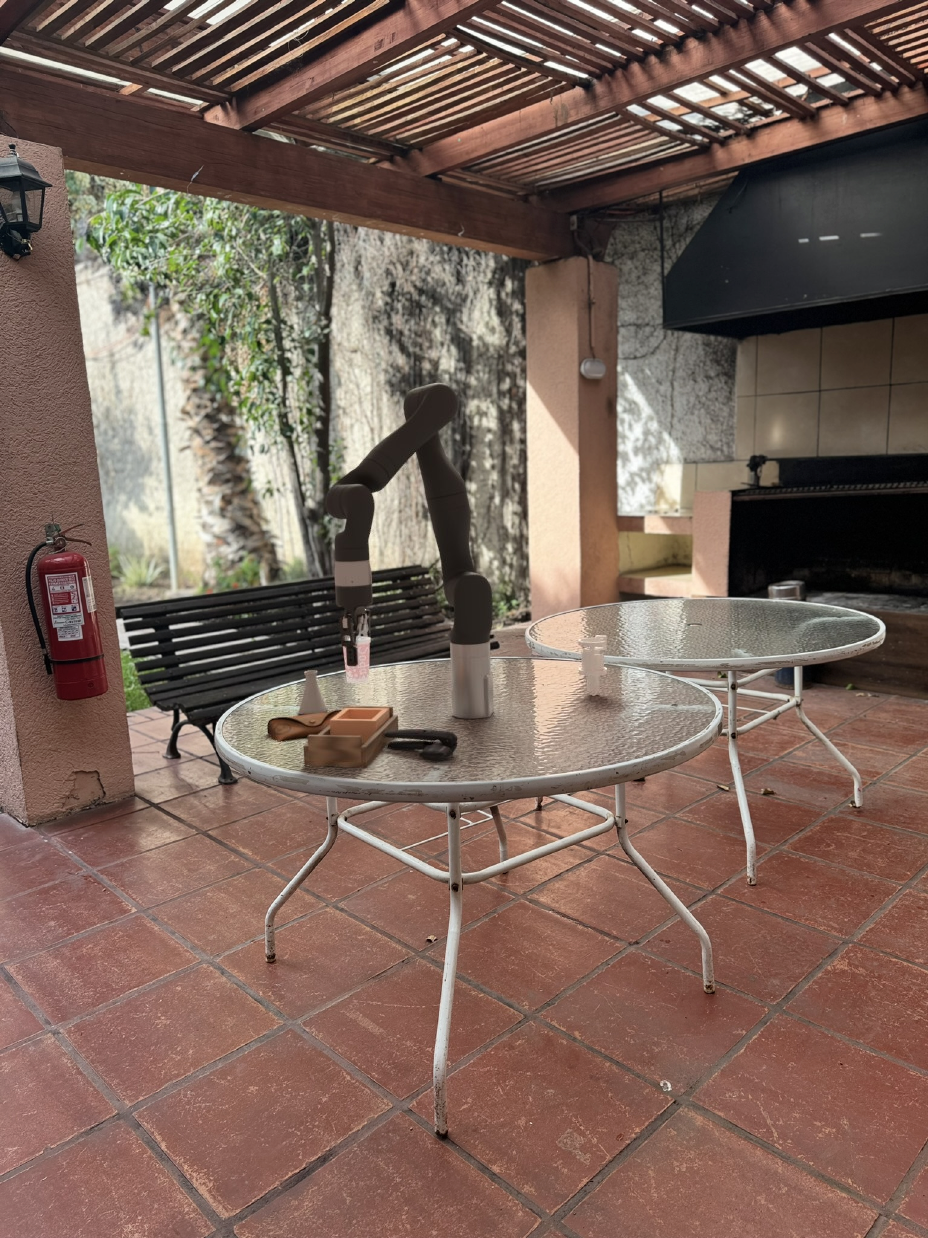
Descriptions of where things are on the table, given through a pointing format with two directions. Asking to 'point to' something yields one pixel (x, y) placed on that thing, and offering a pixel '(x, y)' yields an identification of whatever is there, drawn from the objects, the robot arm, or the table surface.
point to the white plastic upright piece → (593, 660)
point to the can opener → (425, 742)
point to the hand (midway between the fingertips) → (357, 662)
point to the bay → (348, 745)
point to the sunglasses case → (299, 725)
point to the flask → (312, 696)
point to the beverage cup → (359, 662)
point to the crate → (359, 722)
